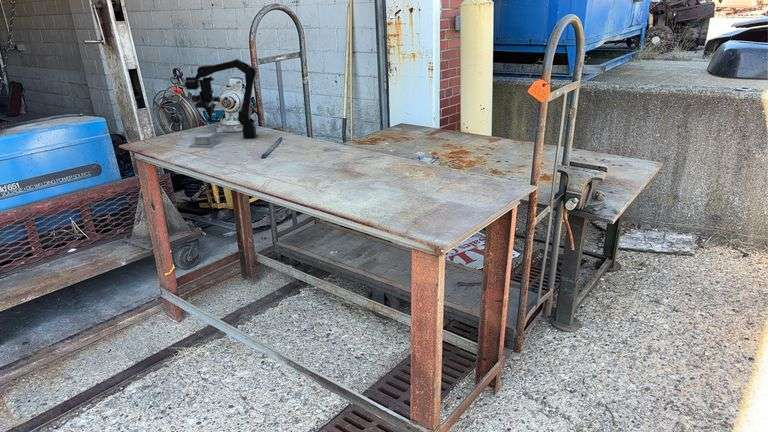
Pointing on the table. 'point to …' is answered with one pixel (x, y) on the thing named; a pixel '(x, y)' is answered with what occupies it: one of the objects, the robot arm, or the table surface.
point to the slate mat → (205, 145)
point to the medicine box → (205, 138)
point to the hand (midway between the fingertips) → (210, 117)
